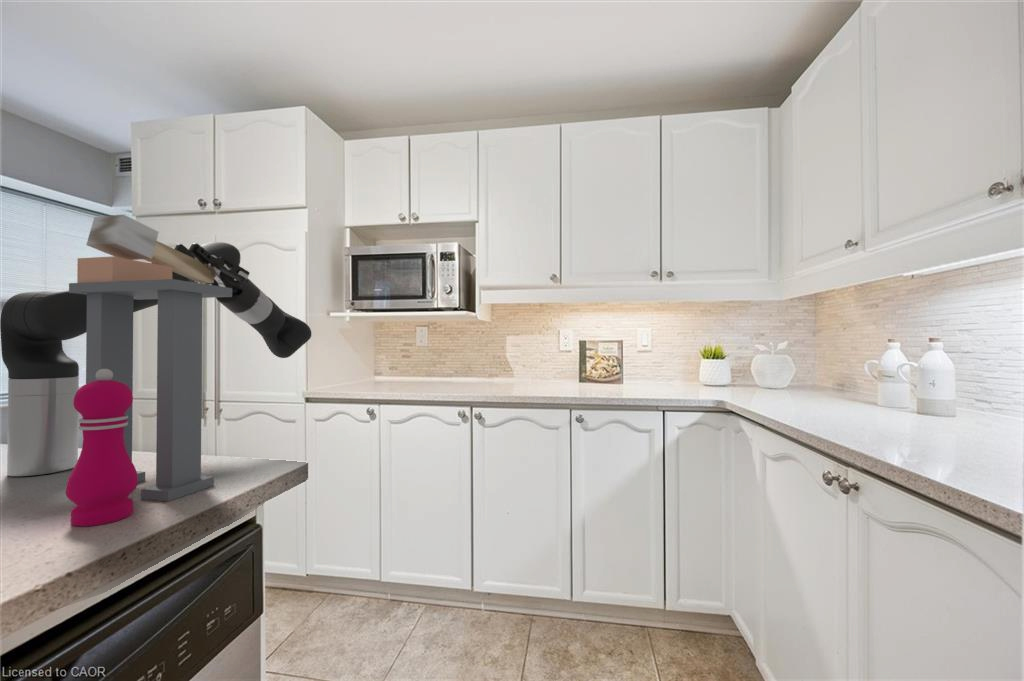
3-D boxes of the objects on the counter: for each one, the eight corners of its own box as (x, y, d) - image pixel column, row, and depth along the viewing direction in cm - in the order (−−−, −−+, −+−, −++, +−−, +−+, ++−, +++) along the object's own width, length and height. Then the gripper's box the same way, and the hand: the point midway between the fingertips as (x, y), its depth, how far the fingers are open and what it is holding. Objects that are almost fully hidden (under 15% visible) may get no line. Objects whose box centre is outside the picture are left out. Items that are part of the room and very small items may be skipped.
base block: (77, 283, 73) (77, 258, 73) (140, 290, 83) (140, 268, 83) (112, 282, 72) (112, 256, 72) (172, 289, 81) (172, 267, 81)
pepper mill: (95, 530, 57) (96, 370, 58) (50, 526, 59) (51, 369, 59) (151, 510, 65) (152, 367, 65) (109, 506, 66) (111, 367, 66)
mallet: (86, 245, 74) (94, 216, 75) (193, 288, 93) (198, 265, 94) (115, 243, 73) (123, 214, 74) (218, 287, 92) (223, 264, 93)
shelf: (66, 492, 72) (69, 283, 73) (137, 473, 83) (138, 291, 84) (170, 501, 68) (172, 279, 69) (231, 480, 79) (232, 288, 79)
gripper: (225, 287, 105) (163, 234, 91) (278, 285, 102) (223, 230, 88) (211, 314, 102) (144, 263, 87) (266, 313, 99) (206, 260, 84)
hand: (184, 247), depth 88 cm, fingers closed on mallet, 3 cm apart
